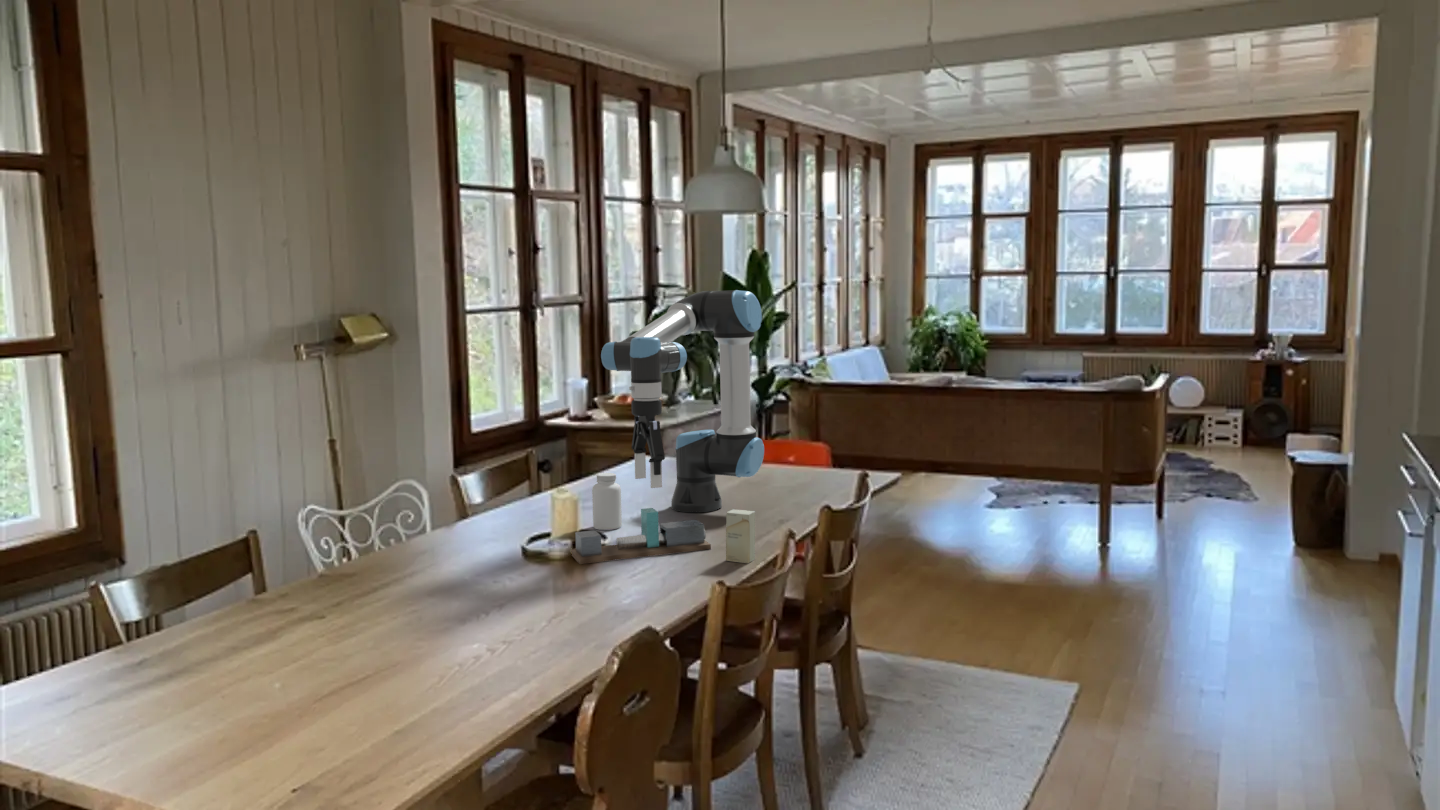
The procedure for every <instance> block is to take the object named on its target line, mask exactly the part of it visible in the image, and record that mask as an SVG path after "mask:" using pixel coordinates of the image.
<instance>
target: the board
mask: <svg viewBox="0 0 1440 810" xmlns="http://www.w3.org/2000/svg"><path fill="white" fill-rule="evenodd" d="M711 549H712V544H711V543H709V542H708V541H706V539H704V543H700V544H691V545H682V546H673V547H666V544H659V547H653V548H647V547H646V546H640V547H631V548H622V549H618V548H617V544H610V545H601V552H602V555H594V556H585V557H581V556H580V555H579V554H578V553H577V551H576V548H574V549H570V550H571V552H572V555H571V557H572V558H574V560H575V561H576V562H577V563H578V564H579V565H583V564H594V563H602V562H609V561H618V560H627V559H635V558H644V557H652V556H662V555H671V554H679V553H686V552H687V553H689V552H695V551H697V552H698V551H705V550H711Z"/></svg>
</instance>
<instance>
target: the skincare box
mask: <svg viewBox="0 0 1440 810" xmlns="http://www.w3.org/2000/svg"><path fill="white" fill-rule="evenodd" d="M725 516H726V518H725V519H726V520H725V521H726V522H725V523H726V524H725V527H726V529H725V542H726V543H725V561H726V562H735V563H740V564H750V563H752V562H753V561H755V560H756V556H755V555H756V547H755V546H756V510H746V509H736V508H735V509H734V508H732V509H730V510H728V511H726V514H725Z"/></svg>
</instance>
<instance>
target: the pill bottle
mask: <svg viewBox="0 0 1440 810" xmlns="http://www.w3.org/2000/svg"><path fill="white" fill-rule="evenodd" d="M591 493H592V494H591V495H592V497H591V498H592V519H593V520H592V522H593V523H592V524H593V525H592V526H593V528H594V529H595V530H600V531H610V530H611V531H612V530H617V529H620V528H621V527H622V523H623V520H622V519H623V517H622V488H621V485H620V484H619V483H617V474H616V473H613V472H601V473H600V472H599V473H597V475H596V484H594V485H593V486H592V489H591Z"/></svg>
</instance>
